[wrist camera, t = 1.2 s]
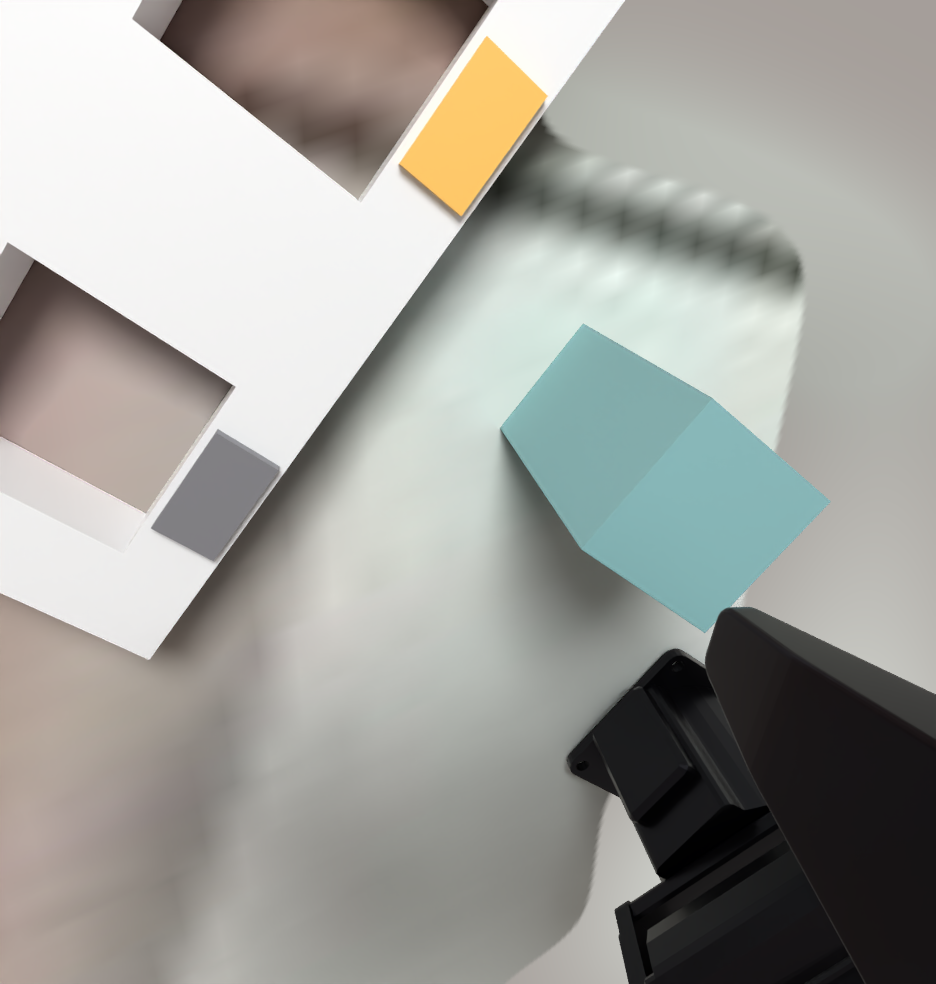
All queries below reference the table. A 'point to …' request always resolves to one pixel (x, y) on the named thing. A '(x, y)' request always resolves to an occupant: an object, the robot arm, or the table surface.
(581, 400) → the peg
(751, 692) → the robot arm
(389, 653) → the table surface
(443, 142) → the socket plate
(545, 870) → the table surface
